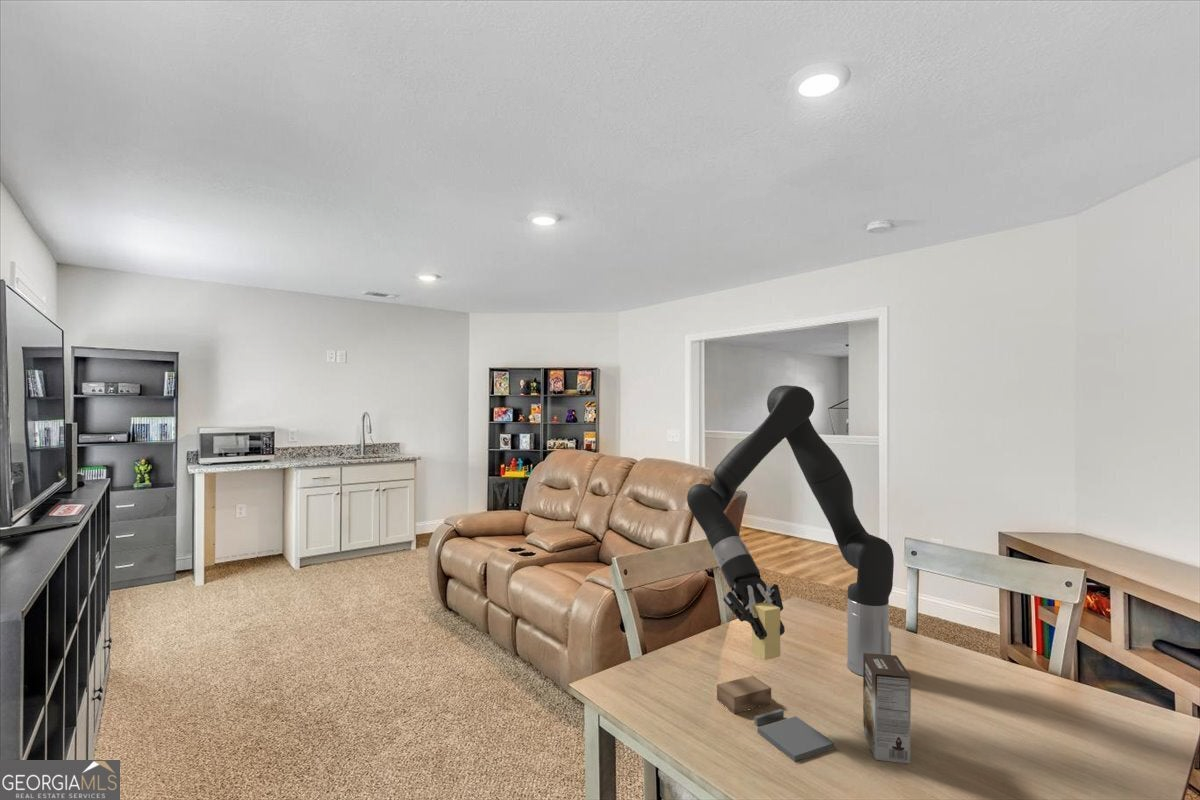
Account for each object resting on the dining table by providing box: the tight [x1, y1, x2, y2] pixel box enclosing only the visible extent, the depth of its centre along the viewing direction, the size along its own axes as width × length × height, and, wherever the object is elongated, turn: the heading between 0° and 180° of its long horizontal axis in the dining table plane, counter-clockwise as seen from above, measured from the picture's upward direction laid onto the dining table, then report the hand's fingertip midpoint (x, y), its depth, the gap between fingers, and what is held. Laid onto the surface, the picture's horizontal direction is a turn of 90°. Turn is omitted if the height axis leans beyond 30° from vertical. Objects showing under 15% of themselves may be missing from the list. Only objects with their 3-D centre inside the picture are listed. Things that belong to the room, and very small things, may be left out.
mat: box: [757, 715, 836, 763], centre depth 109 cm, size 10×10×1 cm
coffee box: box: [862, 653, 912, 765], centre depth 107 cm, size 9×6×16 cm
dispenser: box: [716, 675, 785, 727], centre depth 121 cm, size 10×11×4 cm
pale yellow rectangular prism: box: [751, 601, 781, 661], centre depth 117 cm, size 4×4×10 cm
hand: (772, 635), depth 115 cm, fingers closed on pale yellow rectangular prism, 4 cm apart
